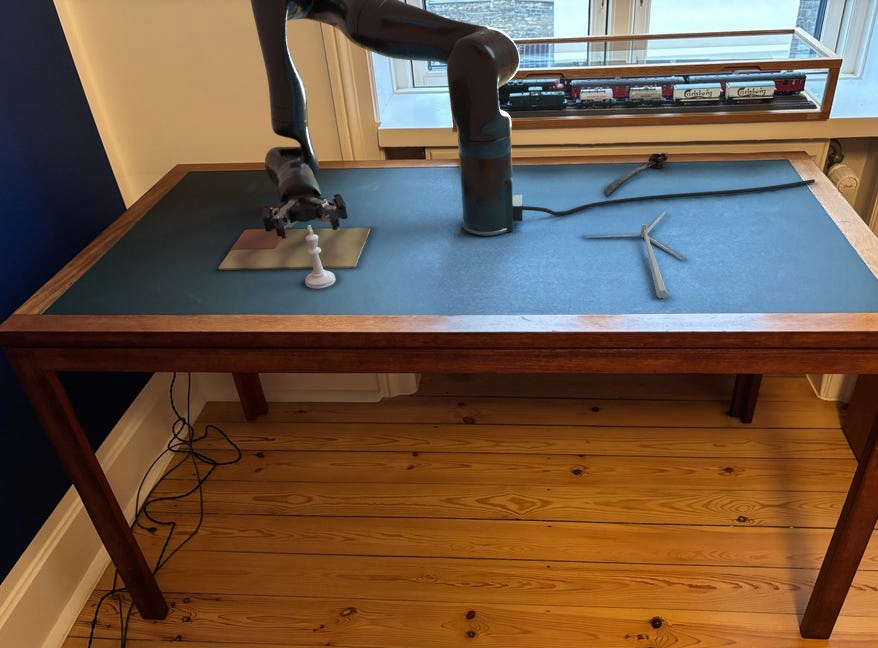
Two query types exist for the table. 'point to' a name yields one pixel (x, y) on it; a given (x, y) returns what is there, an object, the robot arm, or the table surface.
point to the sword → (638, 170)
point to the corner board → (295, 249)
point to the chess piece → (317, 265)
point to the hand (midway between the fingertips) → (308, 229)
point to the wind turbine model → (651, 256)
